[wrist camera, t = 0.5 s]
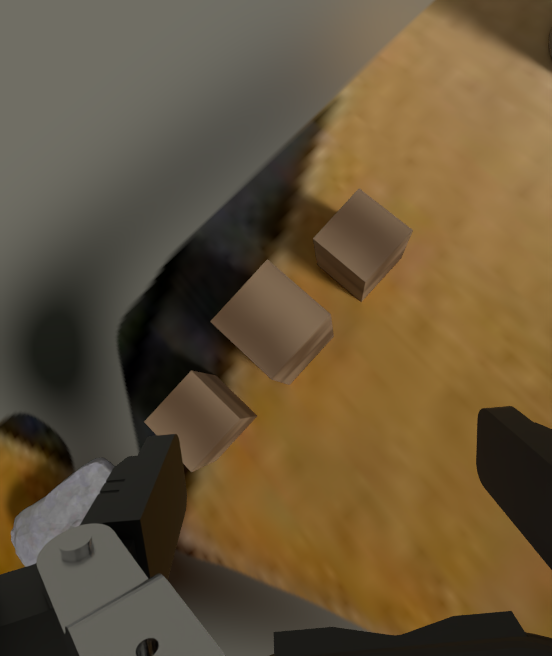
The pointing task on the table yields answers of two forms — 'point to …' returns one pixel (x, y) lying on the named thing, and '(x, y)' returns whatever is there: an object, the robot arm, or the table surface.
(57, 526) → the stone block
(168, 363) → the table surface
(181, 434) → the block seven
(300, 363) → the plain pillar
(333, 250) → the block one
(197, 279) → the table surface
